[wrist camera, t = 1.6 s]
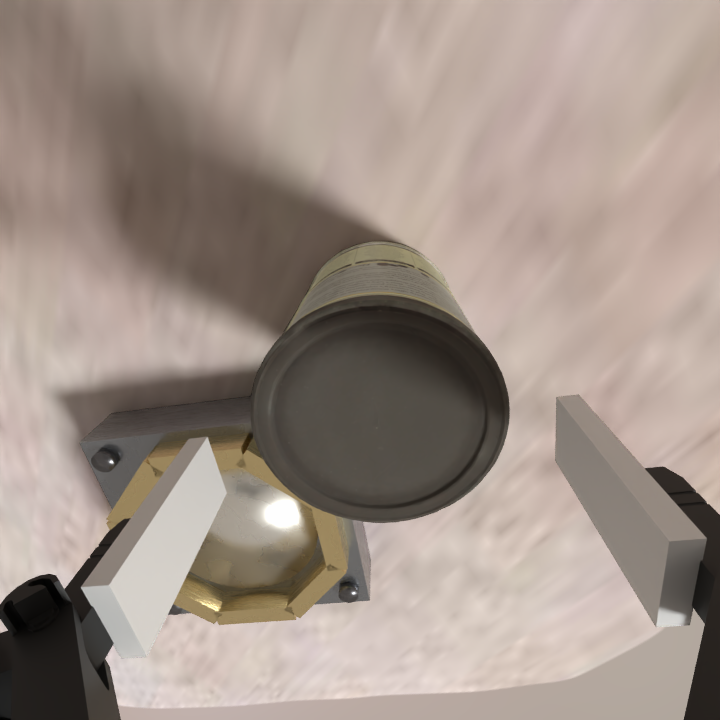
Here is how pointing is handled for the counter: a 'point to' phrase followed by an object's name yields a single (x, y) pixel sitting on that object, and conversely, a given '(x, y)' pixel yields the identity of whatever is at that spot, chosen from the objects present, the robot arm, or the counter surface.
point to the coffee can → (379, 391)
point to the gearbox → (234, 517)
